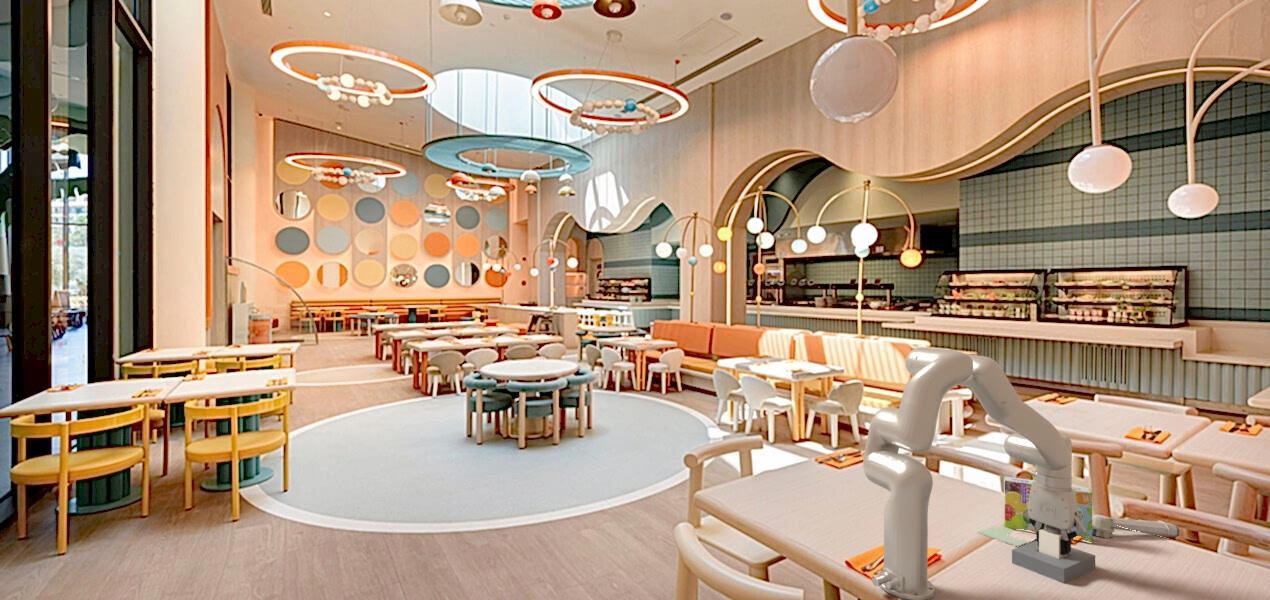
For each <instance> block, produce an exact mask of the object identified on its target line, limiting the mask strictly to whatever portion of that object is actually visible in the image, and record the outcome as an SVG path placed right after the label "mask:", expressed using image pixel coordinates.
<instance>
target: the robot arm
mask: <svg viewBox="0 0 1270 600" xmlns="http://www.w3.org/2000/svg"><path fill="white" fill-rule="evenodd" d="M905 368H906V370H907V372H908V374H909V375H910V376H911V378H910V379H909V380H908V382H906V384H905V387H904V389H903V392H902V396H901V400H900V404H899V407H894V406H885V407H882V408H881V409H879V410H878V411H876V412H875V413H874V416H872V418H871V420H870V424H869V429H868V432H867V437H866V442H865V443H866V444H865V447H864V452H863V454H864V455H863V459H862V460H863V461H862V469H863V472H864V475H865V477H866V478H867V479H868V480H869V481H870V482H871V483H873V484H875V485H877V486H878V487H880V488H882V489H885V490H887V491H889V492H890V496H889V499H888V500H887V501H886V504H885V505H884V513H883V522H884V523H883V567H881V571H880V572H879V573H878V574H877V575H876V576H874V577H872V578H871V582H872V585H873V586H875V587H880V588H881V589H882V590H883V591H885V592H887V593H888V594H891V595H893V596H895V597H898V598H901V599H904V598H905V599H904V600H930V599H931V598H933V597H934V596H935V592H936V591H935V590H936V588H935V586H934V584H933V583H932V582H931V581H930V580H928V551H929V550H928V542H929V541H928V540H929V539H928V538H929V537H928V533H929V532H928V530H929V529H928V527H929V526H928V522H929V521H928V520H929V517H928V516H929V515H928V513H929V504H930V498H931V493H932V490H933V485H934V482H933V479H934V478H933V474H932V473H931V471H930V469H929V468H928V467H927V466H926V465H925V464H924V463H922V462H921V461H919V460H918V459H915V458H913V457H910V456H908V455H905V454H902V453H899V452H900V451H899V450H900V449H901V450H903V451H908V452H911V453H915V454H924V453H926V452H928V451H929V450H930V449H931V447H932V445H933V442H934V438H935V434H936V433H935V432H936V427H937V424H938V418H939V412H940V408H941V404H942V401H943V399H944V397H945V396H946V395H947V394H948V392H949V391H951V390H952V389H954V388H955V387H956V386H963V387H966V388H970V389H971V391H972V393H973V394H974V396H975V397H976V399H977V401H978V402H979V403H980V405H981V406H982V409H983V410H984V411H985V413H986V414H987V416H988V417H990V418H991V419H993V420H994V421H995V422H998V423H999V424H1000V425H1002V426H1004V427H1006V428H1008V429H1011V430H1012V431H1014V433H1012V434H1010V435H1008V436H1007V437H1006V438H1005V440H1004V443H1003V448H1004V451H1005V453H1006V454H1007V455H1008V456H1009V457H1010V458H1011V459H1014V460H1016V461H1019V462H1021V463H1026V464H1029V465H1033V466H1035V471H1030V476H1031V477H1033V476H1034V477H1035V480H1036V481H1035V482H1032V486H1031V490H1030V495H1029V503H1028V508H1027V509H1026V510H1025V511H1024V512H1023V515H1024V516H1025V517H1026V518H1027V519H1028V520H1029V521H1030V523H1031V524H1032V525H1033V526H1034V529H1035V530H1036V534H1035V535H1036V536H1035V537H1036V541H1037V542H1038V547H1039V530H1041V529H1044V528H1045V525H1046V524H1047V525H1050V526H1053V527H1057V528H1060V529H1061V533H1062V539H1061V548H1060V553H1061V555H1066V554H1068V553H1069V552H1070V551H1071V547H1072V540H1071V539H1073V538H1074V537H1076V536H1079V535H1082V534H1085V533H1087V531H1086V529H1085V528H1084V526H1083V525H1082V523H1081V522H1080V520H1079V514H1078V504H1077V498H1076V494H1075V491H1074V489H1072V486H1073V483H1072V482H1073V477H1072V473H1073V471H1072V470H1073V469H1072V467H1073V466H1072V465H1073V460H1072V459H1073V455H1072V454H1073V442H1072V439H1071V438H1070V437H1069V436H1067V435H1065V434H1061V433H1060V432H1059V430H1058V429H1057V428H1056V427H1055V425H1053V424H1052V423H1051V422H1050V421H1049V420H1048V419H1047V418H1045V417H1044V416H1043V415H1041V414H1040V413H1039V412H1038V411H1036V410H1035V409H1034V408H1032V407H1031V406H1030V405H1028V404H1027V403H1025V401H1023V400H1022V398H1021V397H1020V396H1019V394H1018V392H1017V391H1016V390H1015V388H1014V387H1013V385H1012V383H1011V382H1010V379H1009V378H1008V377H1007V376H1006V374H1005V372H1004V371H1003V369H1002V367H1001V365H999V363H998V362H997V361H996V360H994V359H993V358H992V357H989V356H984V355H977V354H968V353H964V352H962V351H958V350H952V349H943V348H935V347H934V348H933V347H932V348H931V347H924V346H923V347H915V348H914V349H911V351H909V352H908V354H907V355H906V358H905ZM1073 527H1076V528H1077V530H1075V531H1073V532H1072V530H1071V529H1072V528H1073ZM933 595H934V596H933ZM932 596H933V597H932Z"/></svg>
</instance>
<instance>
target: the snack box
mask: <svg viewBox="0 0 1270 600" xmlns="http://www.w3.org/2000/svg"><path fill="white" fill-rule="evenodd" d="M1032 482H1035V480H1033V479H1028V478H1020V477H1012V476H1003V523H1004V527H1007V528H1009V529H1012V530H1014V529H1024V530H1034V531H1036V530H1035V529H1034V526H1033V525H1032V524H1031V523H1030V521H1029V520H1028V519H1027V518H1026V517H1025V516H1024V515H1023V512H1024V511H1025V510H1026V509H1027V508H1028V503H1029V495H1030V490H1031V486H1032ZM1072 489H1074V491H1075V494H1076V498H1077V504H1078V514H1079V520H1080V522H1081V523H1082V525H1083V526H1084V528H1085V529H1086V531H1087V533H1085V534H1082V535H1079V536H1081V537H1082V539H1083V540H1085V541H1089V542H1092V543H1093V535H1092V520H1093V492H1092V491H1091V489H1090V488H1089V487H1084V486H1077V485H1072ZM1046 525H1047V524H1046ZM1046 525H1045V528H1046ZM1071 530H1072V532H1073V531H1075V530H1077V528H1076V527H1073V528H1072V529H1071Z"/></svg>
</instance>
